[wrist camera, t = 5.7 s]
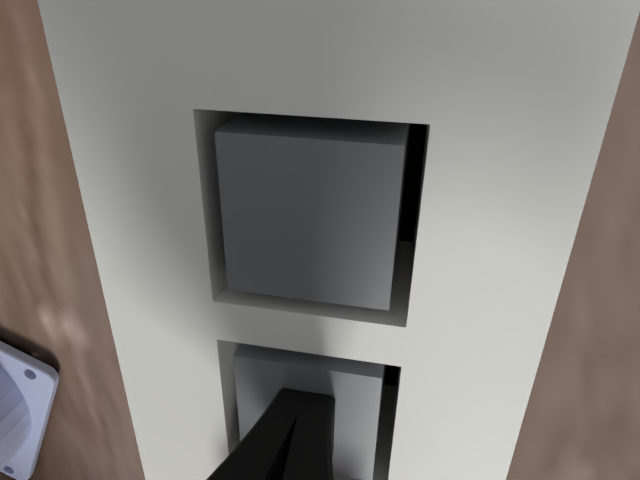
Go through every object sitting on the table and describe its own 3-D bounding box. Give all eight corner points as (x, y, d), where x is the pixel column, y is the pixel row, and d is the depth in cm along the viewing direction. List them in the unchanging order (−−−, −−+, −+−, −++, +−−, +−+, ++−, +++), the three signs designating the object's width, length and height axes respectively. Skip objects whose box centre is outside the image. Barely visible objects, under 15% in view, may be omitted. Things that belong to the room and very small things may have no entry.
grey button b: (385, 376, 17) (372, 481, 13) (280, 360, 17) (241, 457, 14) (394, 285, 15) (382, 378, 11) (278, 271, 16) (233, 355, 12)
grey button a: (400, 228, 14) (388, 310, 11) (276, 215, 15) (227, 289, 11) (413, 98, 12) (405, 145, 9) (273, 90, 13) (214, 131, 10)
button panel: (450, 543, 20) (453, 662, 17) (213, 495, 22) (171, 593, 18) (579, -23, 11) (649, -23, 7) (144, -30, 12) (30, -33, 9)
